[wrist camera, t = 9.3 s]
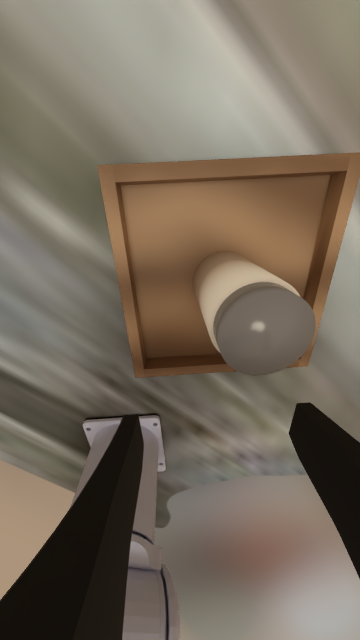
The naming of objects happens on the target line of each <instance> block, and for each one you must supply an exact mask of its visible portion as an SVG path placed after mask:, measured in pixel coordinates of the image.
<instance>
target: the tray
mask: <svg viewBox="0 0 360 640" xmlns="http://www.w3.org/2000/svg"><path fill="white" fill-rule="evenodd" d="M97 166H98V172H99V177H100V183H101V189H102V194H103V200H104V205H105V211H106V216H107V222H108V227H109V233H110V239H111V244H112V250H113V255H114V261H115V266H116V272H117V277H118V283H119V289H120V294H121V300H122V305H123V311H124V316H125V322H126V328H127V333H128V339H129V344H130V350H131V355H132V361H133V366H134V372H135V378H138V377H153V376H168V375H183V374H198V373H214V372H229V371H236V370H234V369H233V368H231V367H230V366H229V365H228V364H227V363H226V362H225V361H224V359H223V357H222V355H221V353H220V352H219V351H218V350H217V349H216V348H215V347H214V345H213V343H212V341H211V338H210V336H209V333H208V330H207V327H206V324H205V321H204V318H203V315H202V312H201V309H200V306H199V303H198V301H197V298H196V295H195V292H194V288H193V278H194V274H195V271H196V269H197V267H198V266H199V264H200V263H201V262H202V261H203V260H204V259H205V258H207V257H208V256H210V255H211V254H214V253H217V252H222V251H229V252H234V253H236V254H239V255H240V256H242V257H244V258H246V259H247V260H249V261H251V262H252V263H254V264H256V265H258V266H259V267H261V268H263V269H264V270H266V271H268V272H270V273H271V274H273V275H275V276H277V277H278V278H280V279H282V280H283V281H285V282H287V283H288V284H290V285H291V286H292V287H293V288H295V289H296V291H297V292H298V293H299V295H300V297H301V298H303V299H304V300H305V301H306V302H307V303H308V304H309V305H310V307H311V308H312V310H313V312H314V315H315V320H316V329H315V334H314V337H313V340H312V342H311V344H310V346H309V347H308V349H307V350H306V351H305V353H304V354H303V355H302V356H301V357H300V358H299V359H298V360H297V361H295V362H294V363H293V364H291V365H290V366H288V367H286V368H290V367H305V366H308V364H309V361H310V357H311V353H312V350H313V346H314V342H315V339H316V335H317V331H318V327H319V324H320V320H321V316H322V313H323V309H324V305H325V302H326V298H327V294H328V291H329V287H330V283H331V280H332V276H333V272H334V269H335V265H336V261H337V258H338V254H339V250H340V246H341V243H342V239H343V235H344V232H345V228H346V224H347V221H348V217H349V213H350V210H351V206H352V202H353V199H354V195H355V191H356V188H357V184H358V180H359V177H360V153H342V154H321V155H301V156H280V157H260V158H239V159H219V160H198V161H178V162H158V163H137V164H117V165H97Z"/></svg>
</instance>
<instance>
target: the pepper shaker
mask: <svg viewBox="0 0 360 640" xmlns="http://www.w3.org/2000/svg"><path fill="white" fill-rule="evenodd" d="M193 288H194V292H195V295H196V298H197V301H198V303H199V306H200V309H201V312H202V315H203V318H204V321H205V324H206V327H207V330H208V333H209V336H210V338H211V341H212V343H213V345H214V347H215V348H216V349H217V350H218V351H219V352H220V353H221V355H222V357H223V359H224V361H225V362H226V363H227V364H228V365H229V366H230V367H231V368H233V369H234V370H236V371H238V372H241V373H244V374H249V375H266V374H271V373H274V372H277V371H280V370H282V369H284V368H286V367H288V366H290V365H291V364H293V363H294V362H295V361H297V360H298V359H299V358H300V357H301V356H302V355H303V354H304V353H305V351H306V350H307V349H308V347H309V346H310V344H311V342H312V340H313V337H314V334H315V329H316V320H315V315H314V312H313V310H312V308H311V307H310V305H309V304H308V303H307V302H306V301H305V300H304V299H303V298H301V297H300V295H299V293H298V292H297V291H296V289H295V288H293V287H292V286H291V285H290V284H288V283H287V282H285V281H283V280H282V279H280V278H278V277H277V276H275V275H273V274H271V273H270V272H268V271H266V270H264V269H263V268H261V267H259V266H258V265H256V264H254V263H252V262H251V261H249V260H247V259H246V258H244V257H242V256H240V255H239V254H236V253H234V252H229V251H222V252H217V253H214V254H211V255H210V256H208V257H207V258H205V259H204V260H203V261H202V262H201V263H200V264H199V266H198V267H197V269H196V271H195V274H194V278H193Z"/></svg>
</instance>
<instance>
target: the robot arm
mask: <svg viewBox="0 0 360 640" xmlns="http://www.w3.org/2000/svg"><path fill="white" fill-rule="evenodd" d="M83 428H84V431H85V434H86V436H87V439H88V442H89V444H90V447H91V449H90V452H89V455H88V457H87V460H86V463H85V466H84V469H83V472H82V475H81V478H80V481H79V484H78V487H77V490H76V493H75V496H74V499H73V502H72V504H71V507H70V509H69V511H68V512H67V514H66V515H65V517H64V518H63V519H62V521H61V522H60V524H59V525H58V527H57V528H56V530H55V531H54V532H53V533H52V535H51V536H50V537H49V539H48V540H47V541H46V543H45V544H44V545H43V547H42V548H41V549H40V551H39V552H38V554H37V555H36V556H35V558H34V559H33V560H32V561H31V563H30V564H29V565H28V567H27V568H26V569H25V570H24V572H23V573H22V574H21V576H20V577H19V578H18V579H17V580H16V582H15V583H14V584H13V585H12V587H11V588H10V589H9V590H8V591H7V593H6V594H5V595H4V596H3V598H2V599H1V600H0V640H180V615H179V604H178V597H177V592H176V588H175V585H174V583H173V580H172V576H171V573H170V571H169V569H168V568H167V567H166V565H164V564H162V563H161V561H162V547H159V546H156V545H154V535H155V515H156V494H157V473H158V472H160V471H165V470H166V463H165V456H164V448H163V440H162V432H161V425H160V418H159V417H158V416H157V415H151V416H139V415H138V414H136V415H125V416H124V417H122V418H107V419H93V420H85V421H84V423H83ZM289 435H290V438H291V440H292V443H293V445H294V448H295V450H296V452H297V455H298V457H299V459H300V461H301V463H302V465H303V467H304V469H305V470H306V472H307V474H308V476H309V478H310V479H311V482H312V483H313V485H314V487H315V489H316V491H317V493H318V494H319V496H320V498H321V500H322V502H323V503H324V505H325V507H326V509H327V511H328V513H329V515H330V516H331V518H332V520H333V522H334V524H335V526H336V528H337V530H338V532H339V534H340V536H341V538H342V541H343V543H344V545H345V547H346V549H347V552H348V554H349V556H350V558H351V560H352V562H353V565H354V567H355V569H356V571H357V574H358V576H359V578H360V443H359V442H358V441H357V440H356V439H354V438H353V437H352V436H351V435H349V434H348V433H347V432H346V431H344V430H343V429H342V428H341V427H339V426H338V425H337V424H336V423H335V422H333V421H332V420H331V419H330V418H328V417H327V416H326V415H325V414H324V413H322V412H321V411H320V410H319V409H317V408H316V407H315V406H314V405H313V404H311V403H297V405H296V408H295V412H294V416H293V419H292V423H291V427H290V431H289Z"/></svg>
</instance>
